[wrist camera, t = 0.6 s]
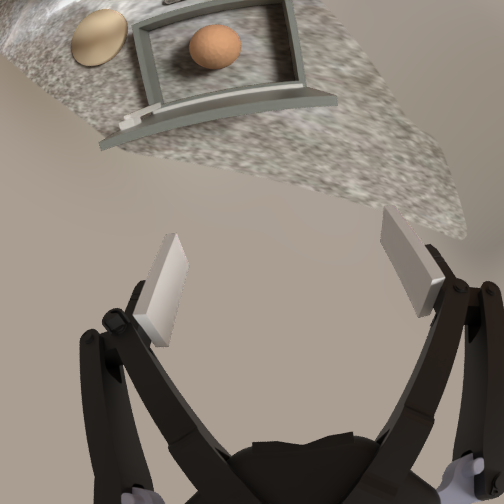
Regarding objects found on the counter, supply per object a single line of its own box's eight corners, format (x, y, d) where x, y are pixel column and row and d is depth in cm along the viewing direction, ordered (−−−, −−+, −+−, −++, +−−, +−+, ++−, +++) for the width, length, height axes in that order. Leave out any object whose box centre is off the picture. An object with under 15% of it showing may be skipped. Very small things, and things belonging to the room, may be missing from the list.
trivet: (72, 27, 22) (68, 26, 21) (123, 0, 21) (119, -1, 20) (81, 74, 27) (76, 75, 27) (132, 51, 26) (128, 50, 26)
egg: (204, 26, 25) (190, 14, 19) (248, 35, 26) (246, 24, 19) (192, 64, 29) (174, 63, 22) (235, 74, 29) (228, 74, 23)
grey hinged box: (142, 28, 25) (69, 12, 11) (286, -3, 22) (309, -52, 9) (161, 115, 33) (101, 151, 19) (302, 91, 31) (337, 105, 17)
